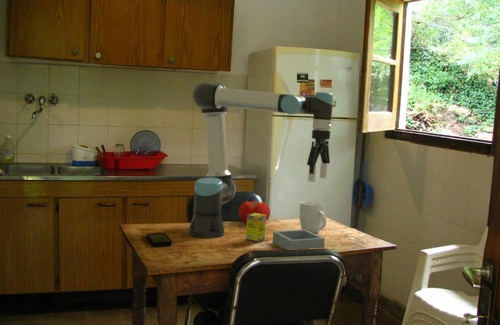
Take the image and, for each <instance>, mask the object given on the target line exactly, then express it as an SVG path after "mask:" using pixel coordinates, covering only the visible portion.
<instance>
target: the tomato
mask: <svg viewBox="0 0 500 325" xmlns="http://www.w3.org/2000/svg"><path fill="white" fill-rule="evenodd" d="M253 213H258V214H264V215H266V221H267V220H268V219H269V217H270V215H271V210H270V206H269V205H268V204H267V203H265V202H264V201H262V202H261V201H260V202H259V201H257V200H253V201H251V202H250V201H248V200H246V201H243V203H241V205H240V206H239V208H238V215H239V218H240V219H241V220H242V221H243V222H245V223H247V215H249V214H253Z"/></svg>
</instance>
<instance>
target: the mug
mask: <svg viewBox="0 0 500 325" xmlns="http://www.w3.org/2000/svg"><path fill="white" fill-rule="evenodd" d="M325 208H326V207H325V203H324V202H320V201H315V200H303V201H300V204H299V222H300V227H301V230H307V231H309V232H312V233H314V234H317V233H319V232H320V231H323V230H324V229H325V228H326V226H327V217H326V216H327V215H326V214H325Z"/></svg>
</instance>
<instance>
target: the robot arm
mask: <svg viewBox="0 0 500 325" xmlns="http://www.w3.org/2000/svg"><path fill="white" fill-rule="evenodd" d="M314 94H315V95H314V96H308V95H307V96H306V95H295V94H292V93H291V94H287V93H286V94H285V93H277V92H267V91H258V90H257V91H256V90H247V89H237V88H236V89H235V88H227V86H225V85H224V84H222V83H219V82H214V81H212V82H211V81H202V82H200V83H198V84H196V85H195V87H193V91H192V100H193V102H194V104H195V105H196V106H197V107H198V108H200V112H201V115H202V116H203V117H204V118H205V119H204V120H205V133H206V148H207V162H208V163H207V164H208V166H207V167H208V172H206V174H205V177H201V178H199V179H197V180H196V181H195V182H194V188H193V189H194V194H193V196H194V197H193V215H192V216H193V217H192V219H191V221H190V224H189V227H188V234H189V235H191V236H192V237H197V238H203V239H205V238H208V239H209V238H210V239H212V238H214V239H215V238H220V237H223V236H224V235H225V226H224V222H223V219H222V205H225V204H227V203H229V202H230V201H231V200H232V199H233V198H234V197H235V194H236V191H237V190H236V189H237V188H236V184H235V182H234V181H233V178H232V177H233V176H232V173H231V172H230V171H229V166H228V164H229V163H228V150H227V135H226V121H225V120H226V118H225V117H226V115H227V114H228V108H232V109H233V108H235V109H245V110H251V111H261V112H262V111H263V112H272V113H273V112H274V113H281V114H288V115H313V117H312V118H313V119H312V131H311V138H312V139H313V140H314V141H312V142H311V148H310V151H309V155H308V158H307V162H306V165H307V166H308V178H307V179H308V181H307V182H310V183H315V182H316V175H317V174H316V173H317V166H316V165H317V162H318V159H319V156H320V159H321V163H320V170H319V171H320V172H319V179H325V180H326V179H327V173H328V165H329V164H330V163H331V162H330V161H331V160H330V148H329V147H330V146H329V140H330V139H331V128H332V125H333V122H332V117H333V116H332V115H333V106H334V103H333V101H334V95H333V93H331V92H322V91H320V92H319V91H317V92H315V93H314Z"/></svg>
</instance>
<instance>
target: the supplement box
mask: <svg viewBox="0 0 500 325" xmlns="http://www.w3.org/2000/svg"><path fill="white" fill-rule="evenodd" d="M266 222H267V220H266V215H264V214H258V213H253V214H249V215H247V222H246V232H245V233H246V234H245V241H247V242H251V243H256V244H259V243H261V242H264V241H265V238H266V224H267V223H266Z"/></svg>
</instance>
